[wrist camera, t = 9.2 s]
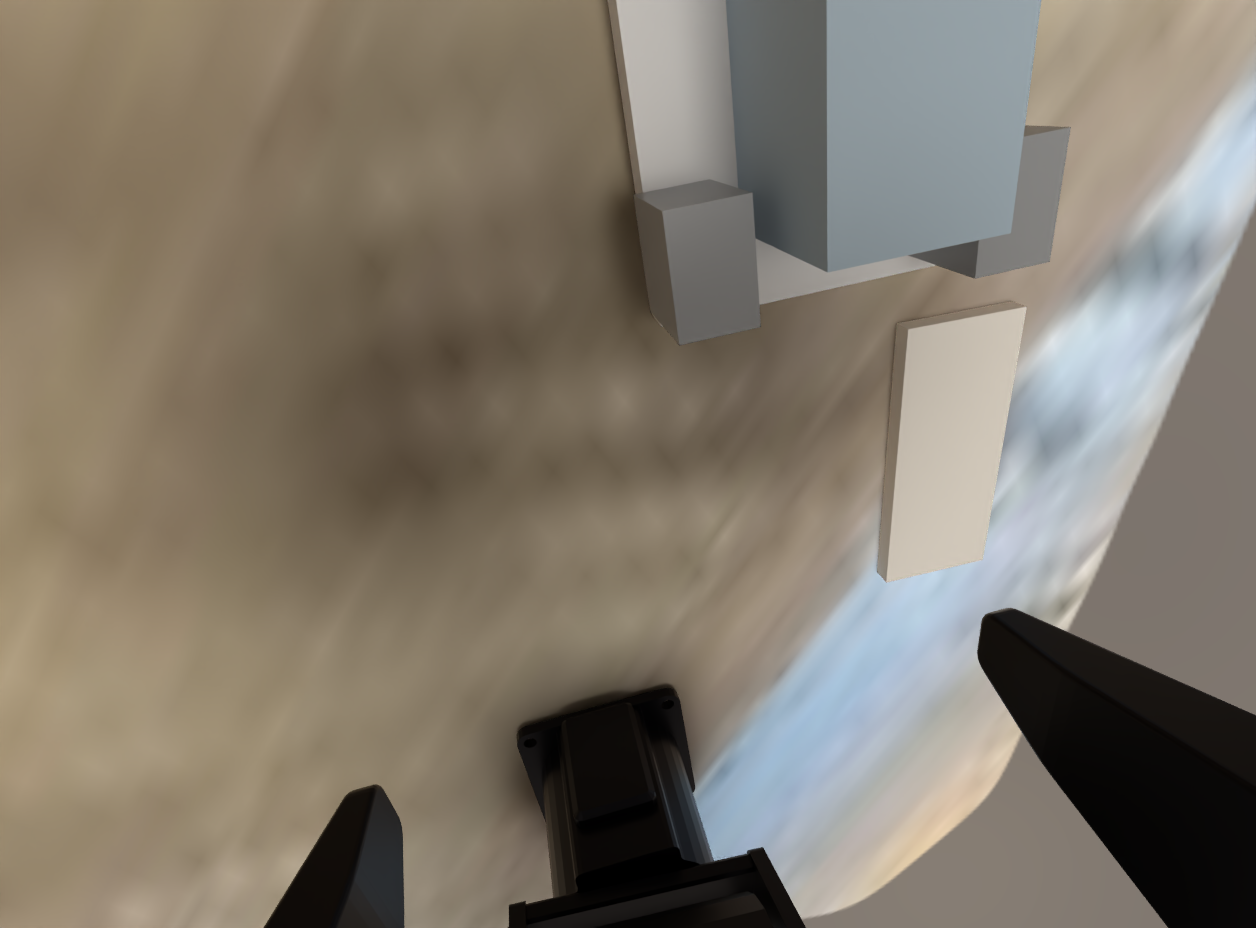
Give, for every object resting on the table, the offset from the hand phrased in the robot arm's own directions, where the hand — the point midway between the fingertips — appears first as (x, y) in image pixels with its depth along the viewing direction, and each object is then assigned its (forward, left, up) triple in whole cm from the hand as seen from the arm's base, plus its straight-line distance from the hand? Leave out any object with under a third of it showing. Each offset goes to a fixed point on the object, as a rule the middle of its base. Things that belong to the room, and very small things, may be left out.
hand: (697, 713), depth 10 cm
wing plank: (-5, -12, -13) cm, 18 cm away
